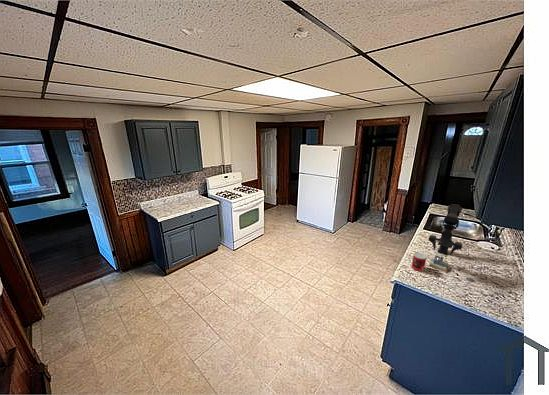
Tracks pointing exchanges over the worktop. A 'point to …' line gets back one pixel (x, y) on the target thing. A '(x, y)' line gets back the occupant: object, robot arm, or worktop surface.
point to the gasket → (469, 279)
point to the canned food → (418, 261)
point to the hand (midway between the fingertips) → (442, 252)
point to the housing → (438, 260)
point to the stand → (442, 268)
